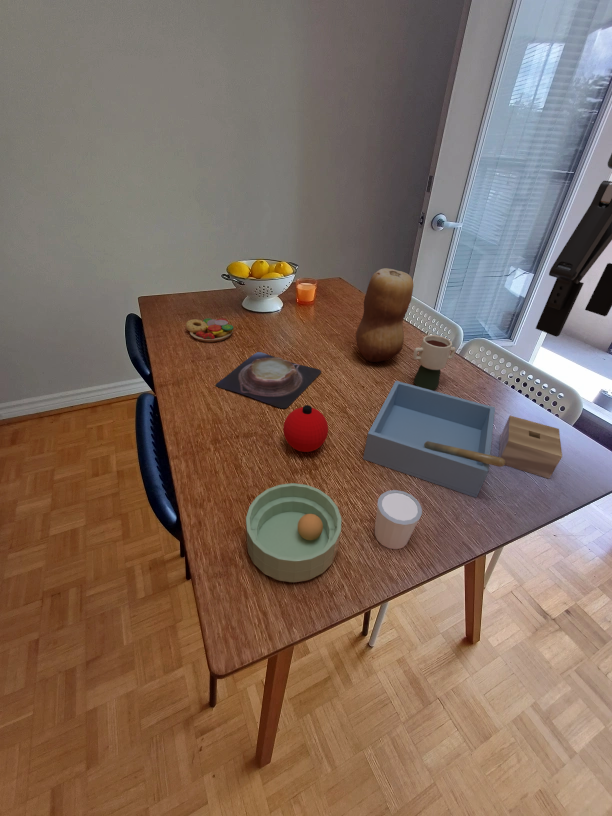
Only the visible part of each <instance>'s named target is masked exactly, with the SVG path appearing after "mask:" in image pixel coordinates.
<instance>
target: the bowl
mask: <svg viewBox="0 0 612 816" xmlns="http://www.w3.org/2000/svg"><path fill="white" fill-rule="evenodd" d="M306 514H315V515H317V516H318V517H319V518H320V519H321V521H322V524H323V531H322V533H321V535H320V536H319V537H318V538H317V539H315V540H306V539H304V538H303V537H301V535H300V534H299V532H298V522H299V520H300V518H301V517H302V516H304V515H306ZM342 522H343V521H342V516H341V513H340V510H339V507H338V505H337V504H336V503H335V501H334V500H333V499H332V498H331V497H330V496H329V495H328V494H326V493H325V492H323V491H322V490H321V489H319V488H316V487H314V486H311V485H308V484H304V483H303V484H302V483H297V482H296V483H295V482H291V483H282V484H278V485H275V486H272V487H270V488H267V489H265V490H264V491H262V492H261V493H260V494H259V495H257V496H256V497H255V498H254V499H253V501H252V502H251V503H250V505H249V506H248V510H247V513H246V517H245V529H246V530H245V531H246V548H247V553H248V555H249V557H250V559H251V562H252V563H253V564H254V566H256V568H257V569H259V571H261V572H262V573H263V574H264V575H265V576H268V577H270V578H272V579H274V580H276V581H280V582H287V583H298V582H306V581H310V580H312V579H314V578H315V577H318V576H321V575H323V573H324V572H326V570H327V569H328V568H330V566H331V565H332V564H333V563H334V560H335V558H336V556H337V553H338V550H339V546H340V545H339V544H340V539H341V533H342Z"/></svg>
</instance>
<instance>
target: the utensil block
mask: <svg viewBox="0 0 612 816" xmlns="http://www.w3.org/2000/svg"><path fill="white" fill-rule="evenodd" d="M560 434H561V433H560V428H558V427H553V426H551V425H547V424H543V423H540V422H535V421H533V420H528V419H525V418H520V417H517V416H514V415H509V416H508V418H507V420H506V422H505V425H504V427H503V429H502V432H501V433H500V436H499V446H498V447H499V448H498V457H500V458H503V459H504V460H505V465H504V466H507V467H510V468H513V469H516V470H519V471H523V472H525V473H529V474H532V475H535V476H538V477H542V478H545V479H548V480H550V479H551V477H552V475H553V473H554V472H555V470H556V468H557V467H558V465H559V463H560V462H561V460H562V458H563V451H562V443H561V436H560Z"/></svg>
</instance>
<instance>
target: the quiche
mask: <svg viewBox="0 0 612 816" xmlns="http://www.w3.org/2000/svg"><path fill="white" fill-rule="evenodd" d="M320 374H322V370H321V369H319V368H315V367H311V366H307V365H303V364H300V363H299V364H298V363H295V362H291V361H290V360H287V359H284V358H281V357H279V356H274V355H271V354H267V353H264V352H261V351H257V352H255V353H253V354H252V355H251V356H249V357H248V358H247V359H245V360H244V361H242V362H241V363H240V364H239V365H238V366H237V367H235V368H234V369H233V370H232V371H230V372H229V373H228V374H227V375H226V376H224V377H223V378H222V379H221V380H219V381H217V382H216V383H215V387H217V388H221V389H224V390H227V391H229V392H230V391H231V392H235V393H237V394H240V395H243V396H246V397H249V398H252V399H255V400H257V401H260V402H263V403H265V404H268V405H271V406H273V407H276V408H279V409H287V408H289V406H291V404H293V402H295V400H297V399H298V397H300V395H301V394H303V392H305V390H306V389H307V388H308V387H309V386H310V385H311V384H312V383H313V382H314V381H315V380H316V378H318V376H319V375H320Z"/></svg>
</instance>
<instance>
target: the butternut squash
mask: <svg viewBox="0 0 612 816" xmlns="http://www.w3.org/2000/svg"><path fill="white" fill-rule="evenodd" d="M413 291H414V280H413V278H412V276H411V275H410V274H408V273H407V272H404V271H401V270H397V269H393V268H387V267H385V268H384V267H383V268H380V269H378V270H377V271H375V272H374V273H373V274H372V275H371V278H370V280H369V282H368V286H367V289H366V291H365V295H364V300H363V314H362V318H361V320H360V323H359V324H358V327H357V329H356V331H355V332H356V333H355V342H356V346H357V350H358V351H359V353H360V354H361V355H362V356H363V357H364V359H366V360H367V361H368V362H371V363H380V362H385V361H388V360H391V359H393V358H394V357H396V356H397V355H398V354H400V352H401V351H402V350H403V346H404V339H405V332H404V319H405V316H406V315H407V312H408V309H409V307H410V304H411V302H412V297H413Z"/></svg>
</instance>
